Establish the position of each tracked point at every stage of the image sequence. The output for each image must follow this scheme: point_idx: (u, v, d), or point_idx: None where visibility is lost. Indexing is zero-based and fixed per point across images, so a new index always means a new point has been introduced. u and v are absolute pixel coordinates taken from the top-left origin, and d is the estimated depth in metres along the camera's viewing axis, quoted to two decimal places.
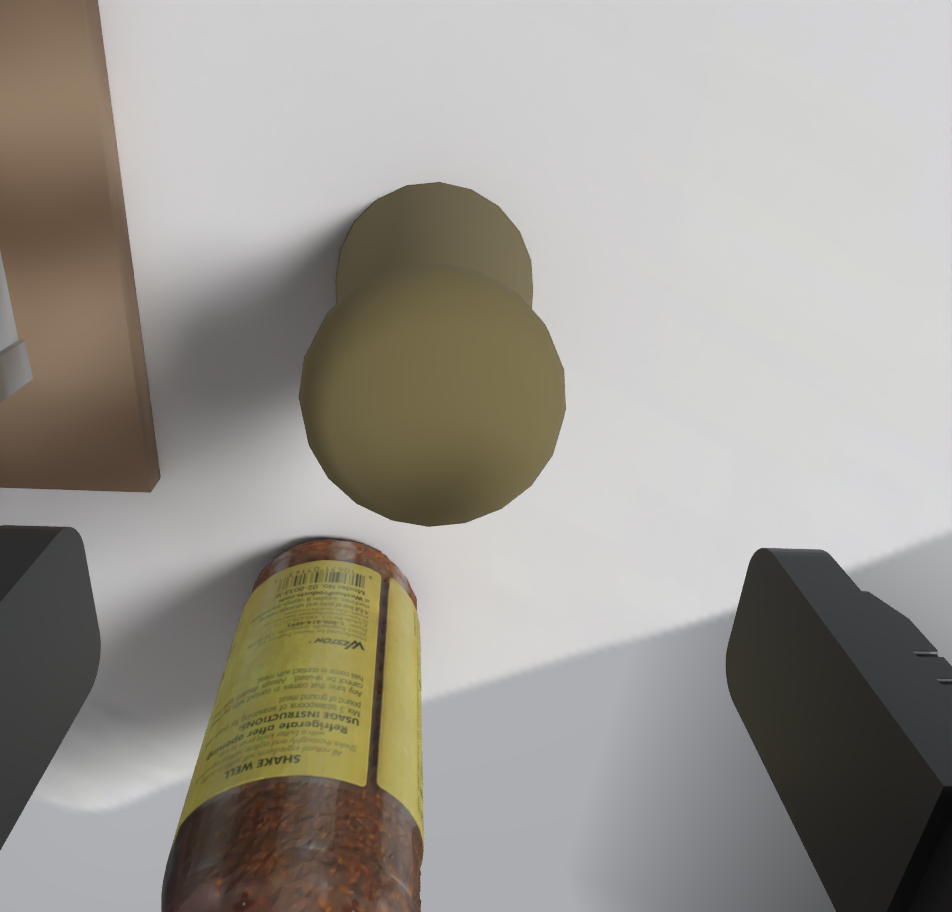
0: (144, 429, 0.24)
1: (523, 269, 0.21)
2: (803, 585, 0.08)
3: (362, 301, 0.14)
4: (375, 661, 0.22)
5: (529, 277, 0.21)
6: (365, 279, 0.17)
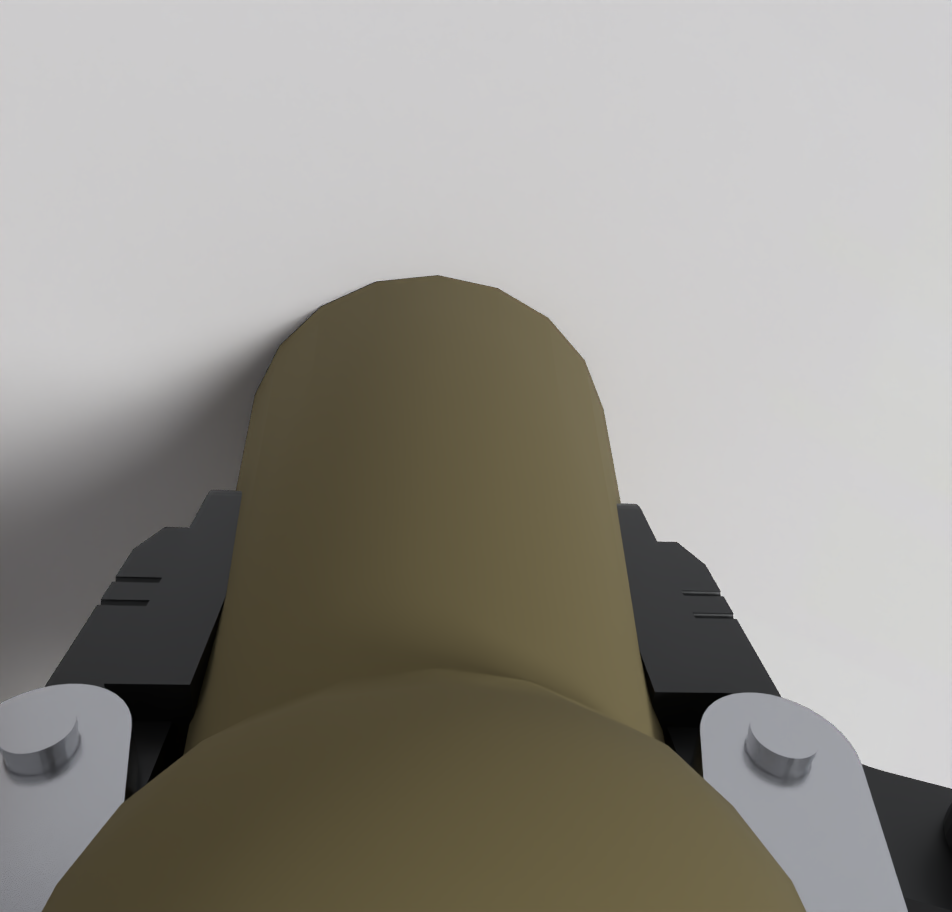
0: None
1: (607, 463, 0.10)
2: None
3: None
4: None
5: (613, 466, 0.11)
6: (254, 582, 0.07)
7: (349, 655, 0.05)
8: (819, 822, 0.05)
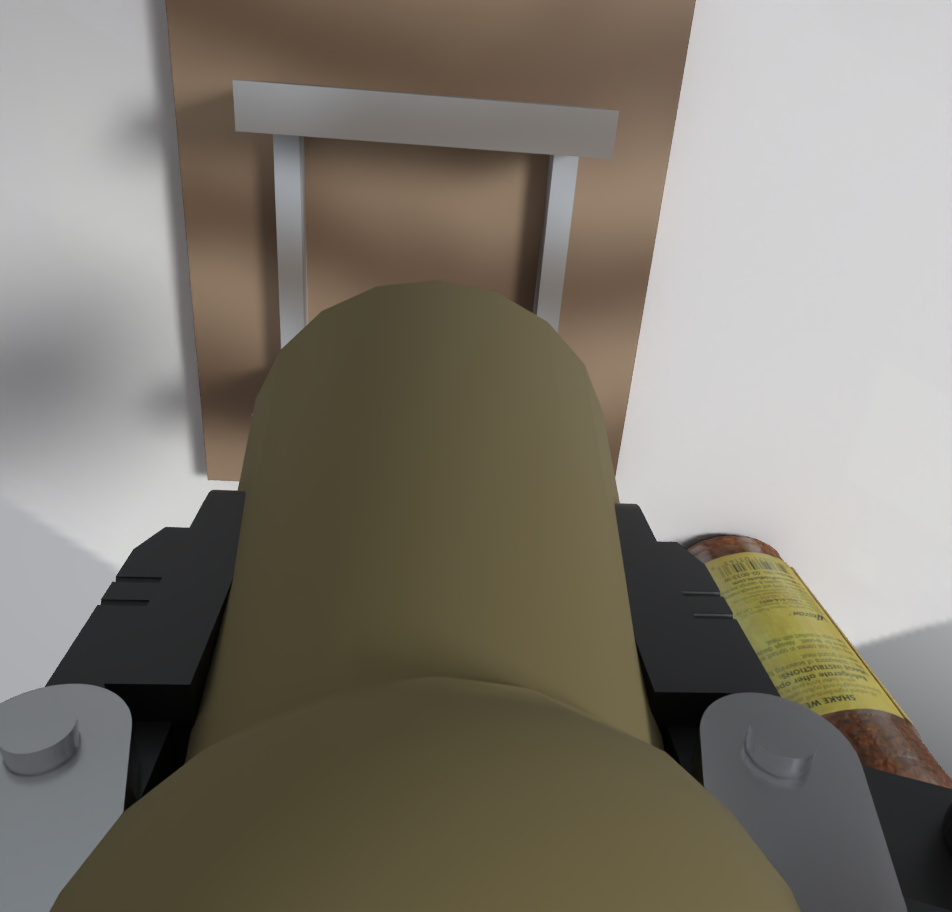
0: (619, 446, 0.30)
1: (607, 467, 0.10)
2: None
3: None
4: (837, 630, 0.28)
5: (613, 470, 0.11)
6: (255, 588, 0.07)
7: (350, 663, 0.05)
8: (819, 822, 0.05)
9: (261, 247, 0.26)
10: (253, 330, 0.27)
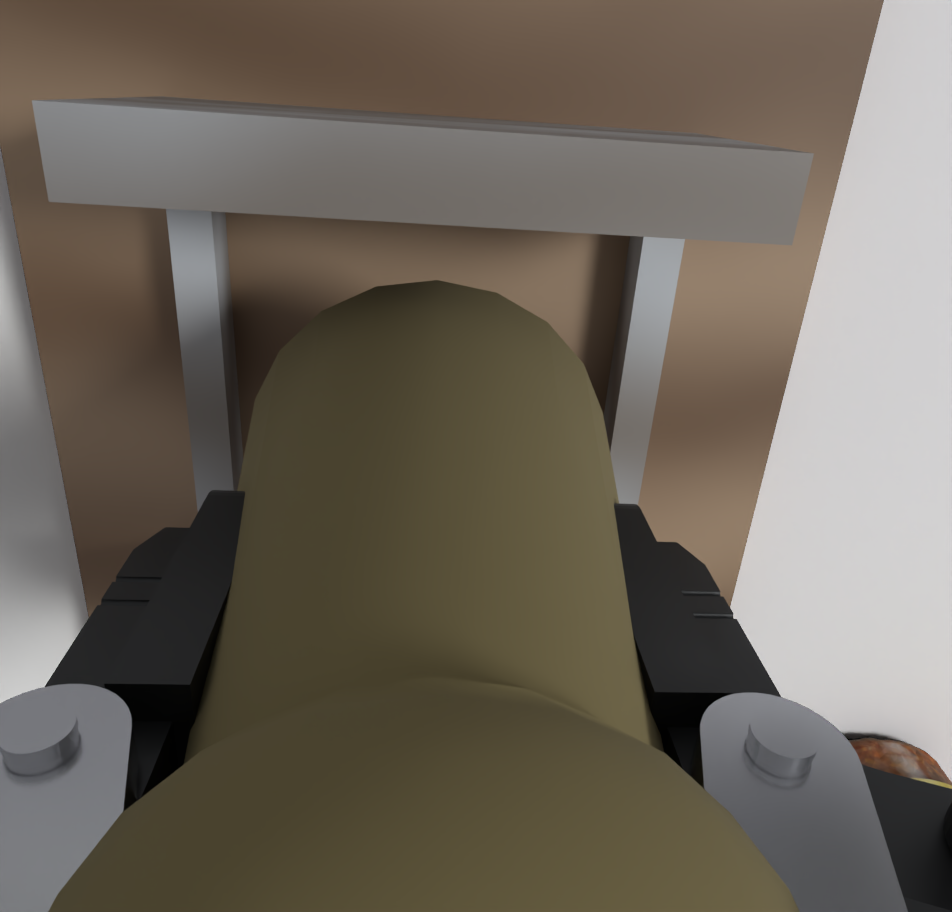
0: None
1: (606, 467, 0.10)
2: None
3: None
4: None
5: (612, 470, 0.11)
6: (254, 588, 0.07)
7: (349, 663, 0.05)
8: (819, 823, 0.05)
9: (162, 364, 0.16)
10: (159, 487, 0.17)
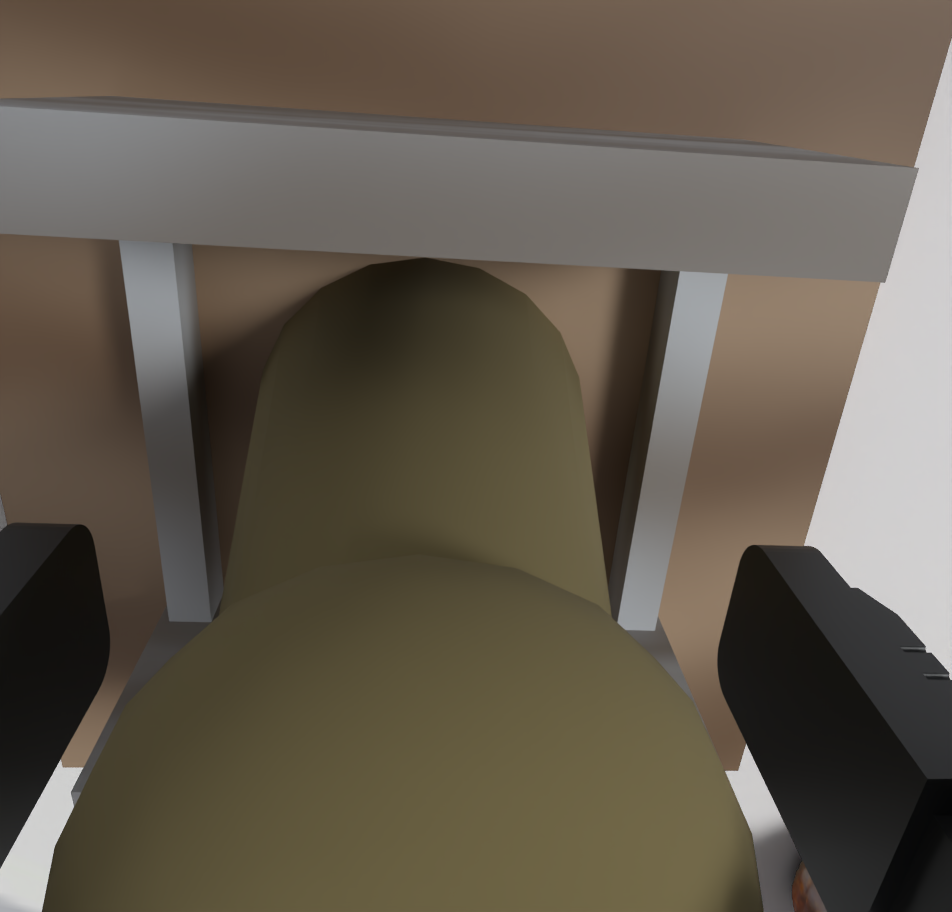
0: None
1: (577, 418, 0.12)
2: (792, 581, 0.08)
3: (180, 769, 0.04)
4: None
5: (585, 424, 0.12)
6: (268, 508, 0.08)
7: (347, 549, 0.07)
8: None
9: (121, 405, 0.14)
10: (120, 543, 0.15)
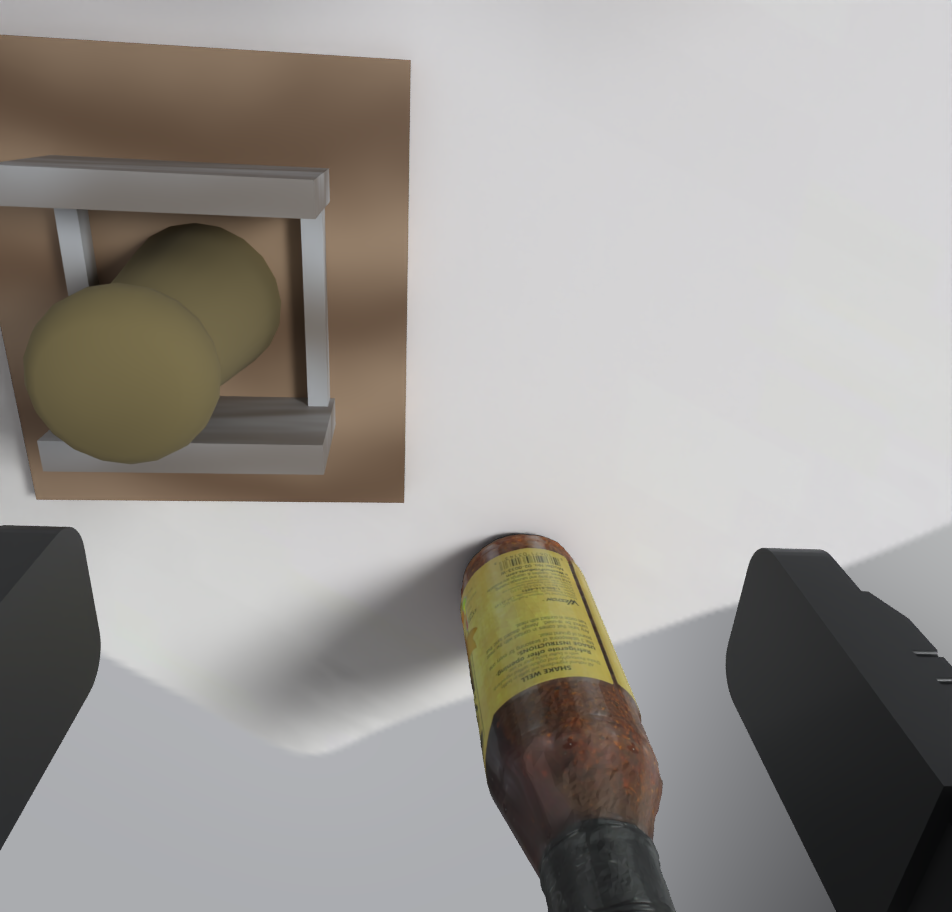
0: (404, 458, 0.34)
1: (248, 285, 0.28)
2: (803, 585, 0.08)
3: (52, 309, 0.21)
4: (587, 612, 0.32)
5: (259, 291, 0.28)
6: None
7: None
8: None
9: (60, 294, 0.30)
10: None
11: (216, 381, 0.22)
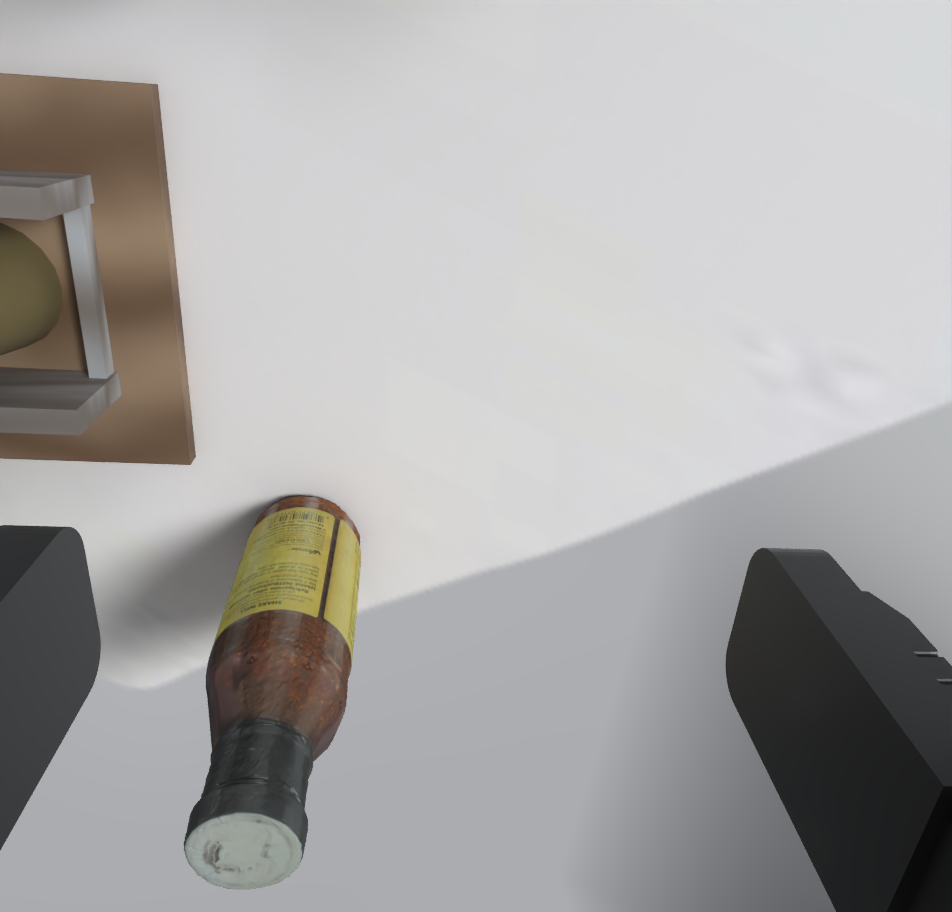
0: (187, 425, 0.39)
1: (12, 273, 0.33)
2: (803, 585, 0.08)
3: None
4: (327, 561, 0.37)
5: (27, 278, 0.34)
6: None
7: None
8: None
9: None
10: None
11: None
